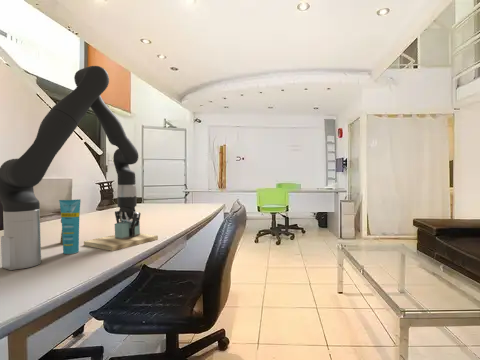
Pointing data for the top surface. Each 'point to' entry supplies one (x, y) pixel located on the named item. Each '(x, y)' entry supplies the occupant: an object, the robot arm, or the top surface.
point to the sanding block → (125, 230)
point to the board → (119, 241)
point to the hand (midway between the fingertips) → (127, 235)
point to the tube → (70, 225)
